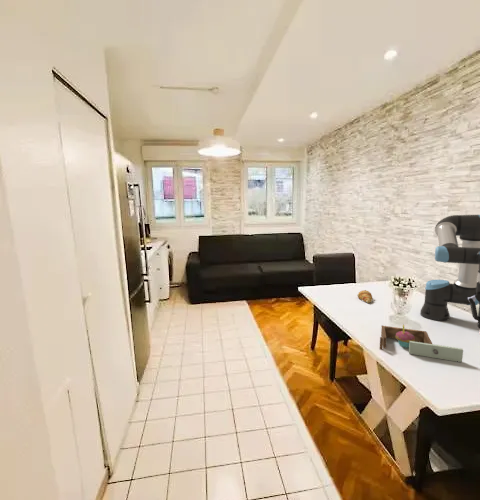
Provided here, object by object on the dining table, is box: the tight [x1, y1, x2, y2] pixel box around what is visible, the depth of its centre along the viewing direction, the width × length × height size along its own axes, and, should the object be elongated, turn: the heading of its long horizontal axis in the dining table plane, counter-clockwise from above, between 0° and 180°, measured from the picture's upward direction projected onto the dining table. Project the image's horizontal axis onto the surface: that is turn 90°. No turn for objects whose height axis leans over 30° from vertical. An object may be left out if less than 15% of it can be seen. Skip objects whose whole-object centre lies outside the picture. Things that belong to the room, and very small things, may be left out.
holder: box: [379, 325, 433, 350], centre depth 136 cm, size 22×16×6 cm
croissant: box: [357, 289, 373, 304], centre depth 204 cm, size 21×10×8 cm, turn 170°
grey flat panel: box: [408, 341, 464, 363], centre depth 124 cm, size 20×3×6 cm, turn 66°
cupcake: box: [395, 323, 415, 349], centre depth 136 cm, size 9×8×12 cm
